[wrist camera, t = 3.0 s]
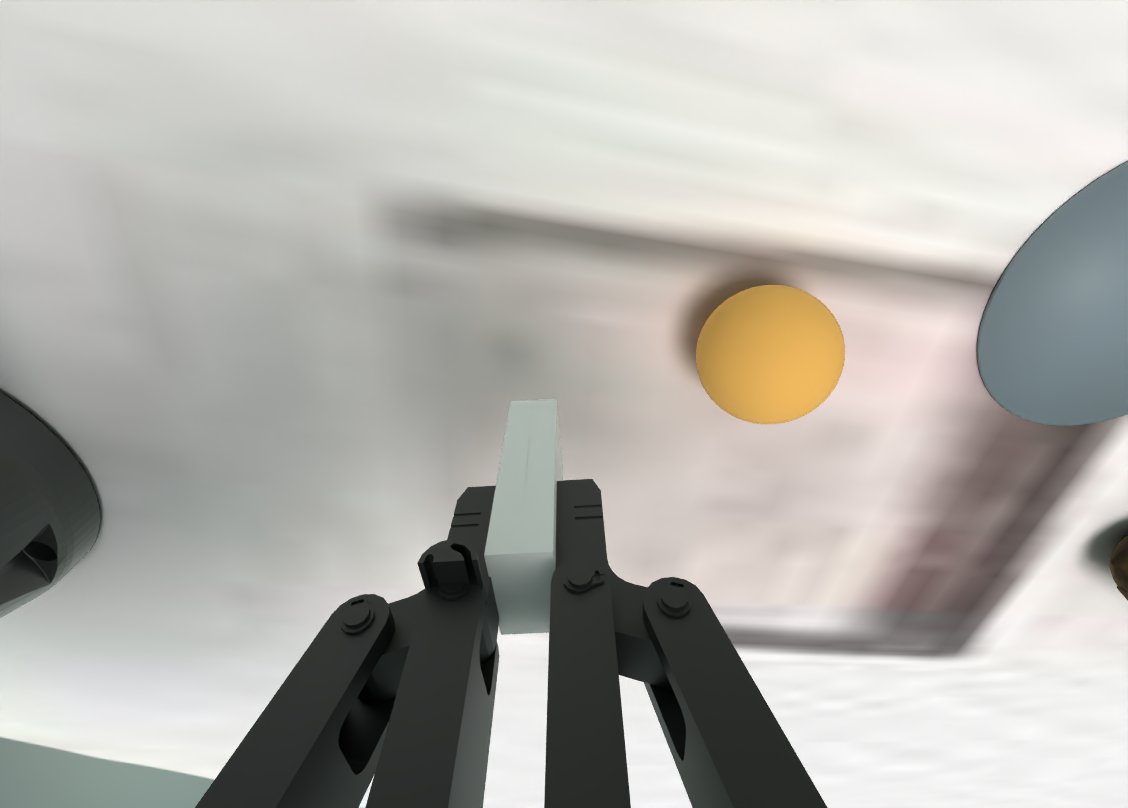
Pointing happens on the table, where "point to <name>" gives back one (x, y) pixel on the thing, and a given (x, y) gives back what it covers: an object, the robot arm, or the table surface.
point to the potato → (1120, 565)
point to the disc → (1064, 314)
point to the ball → (770, 354)
